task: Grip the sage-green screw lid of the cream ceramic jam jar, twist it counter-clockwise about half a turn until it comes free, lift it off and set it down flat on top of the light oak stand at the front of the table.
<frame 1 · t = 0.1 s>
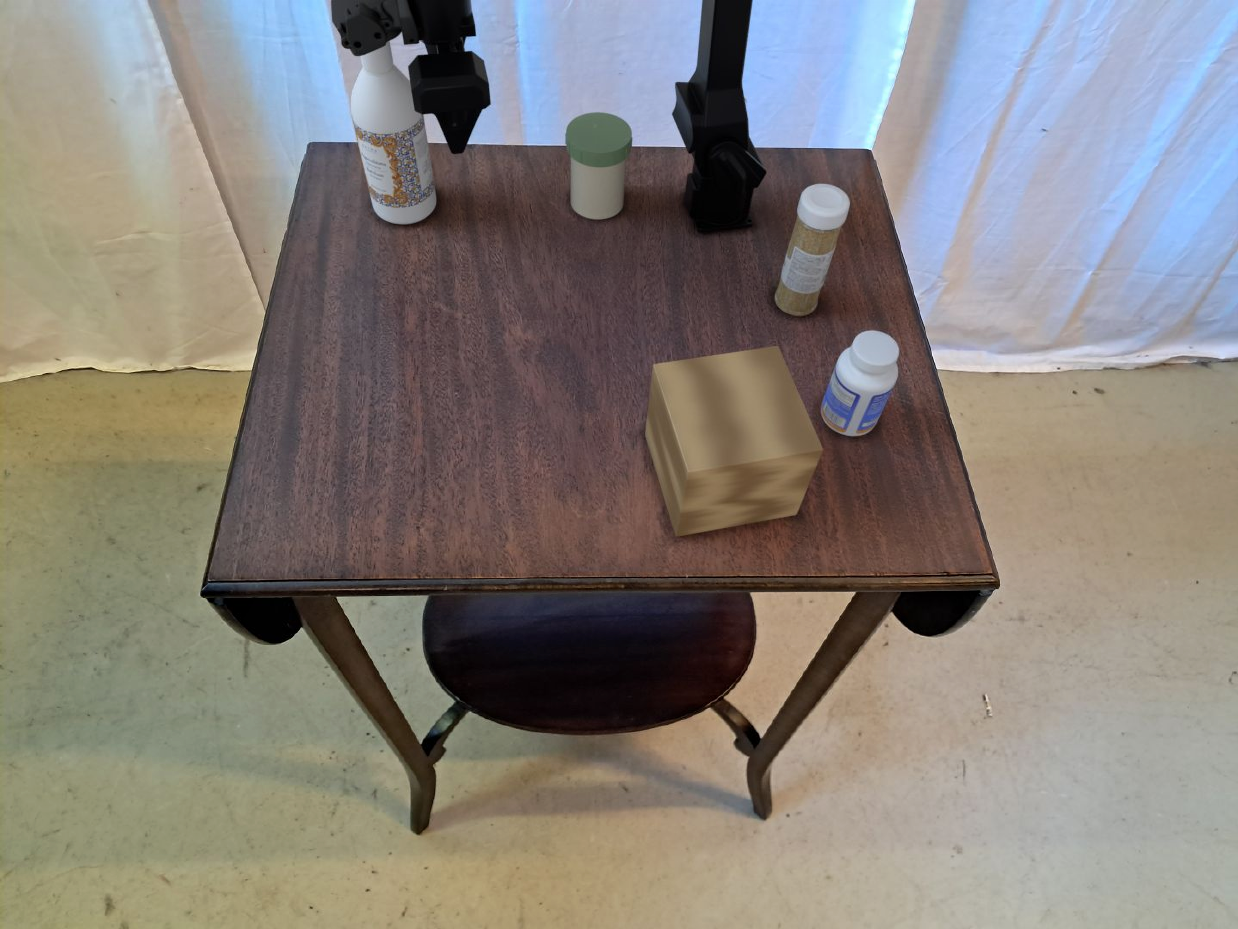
hand: (452, 121, 82), 15 cm above the table, tool pointing down, fingers open, 9 cm apart
oak stand: (718, 473, 79), on the table
bath foam: (405, 206, 97), on the table
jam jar: (597, 201, 99), on the table
pill bottle: (847, 416, 84), on the table
jar lid: (599, 134, 92), point 9 cm above the table, screwed on, not yet turned
sprinkles bottle: (794, 303, 92), on the table
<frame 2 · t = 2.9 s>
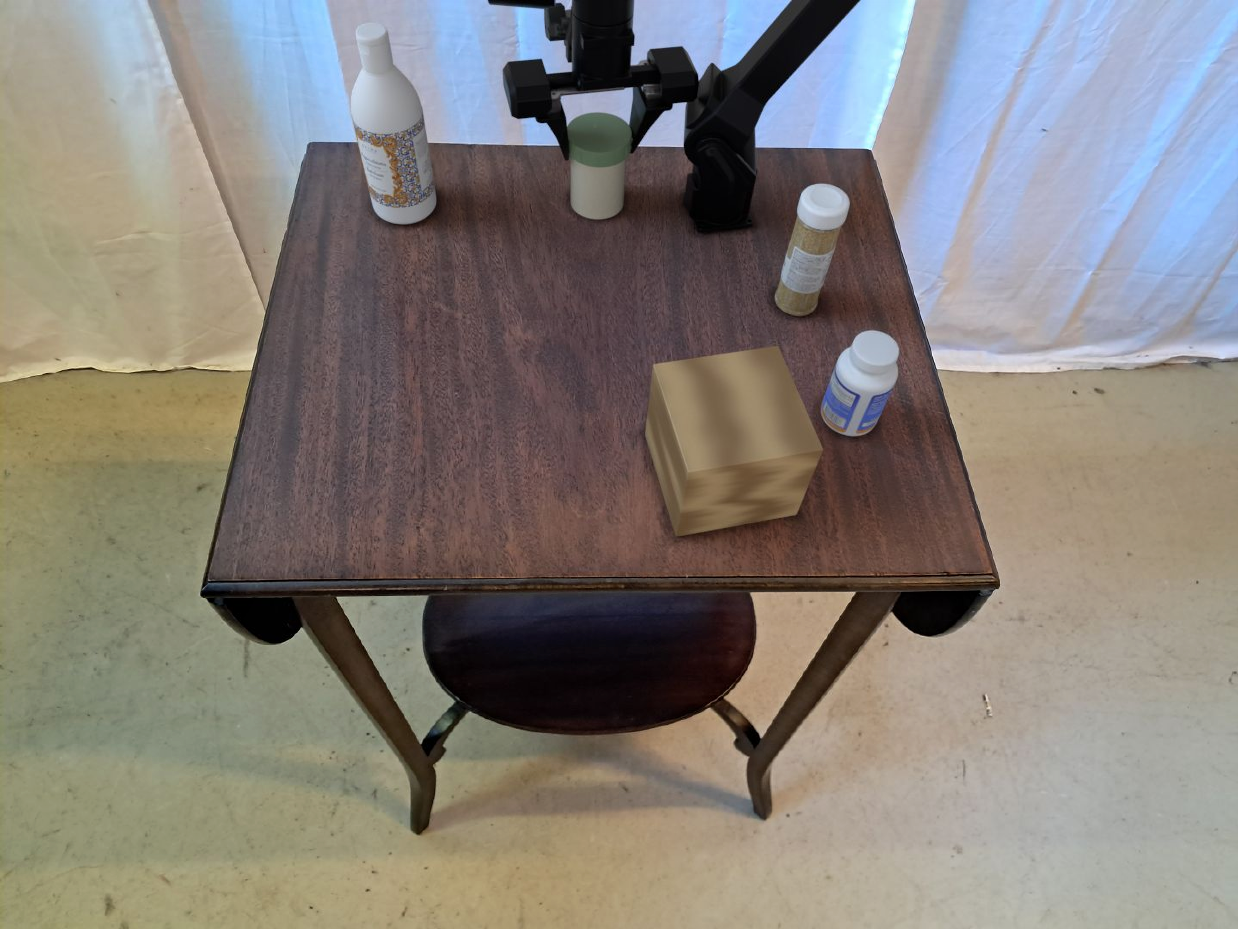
hand: (598, 154, 94), 6 cm above the table, tool pointing down, fingers closed on jar lid, 7 cm apart
jar lid: (598, 134, 92), point 9 cm above the table, screwed on, not yet turned, touching gripper
everything else where it was.
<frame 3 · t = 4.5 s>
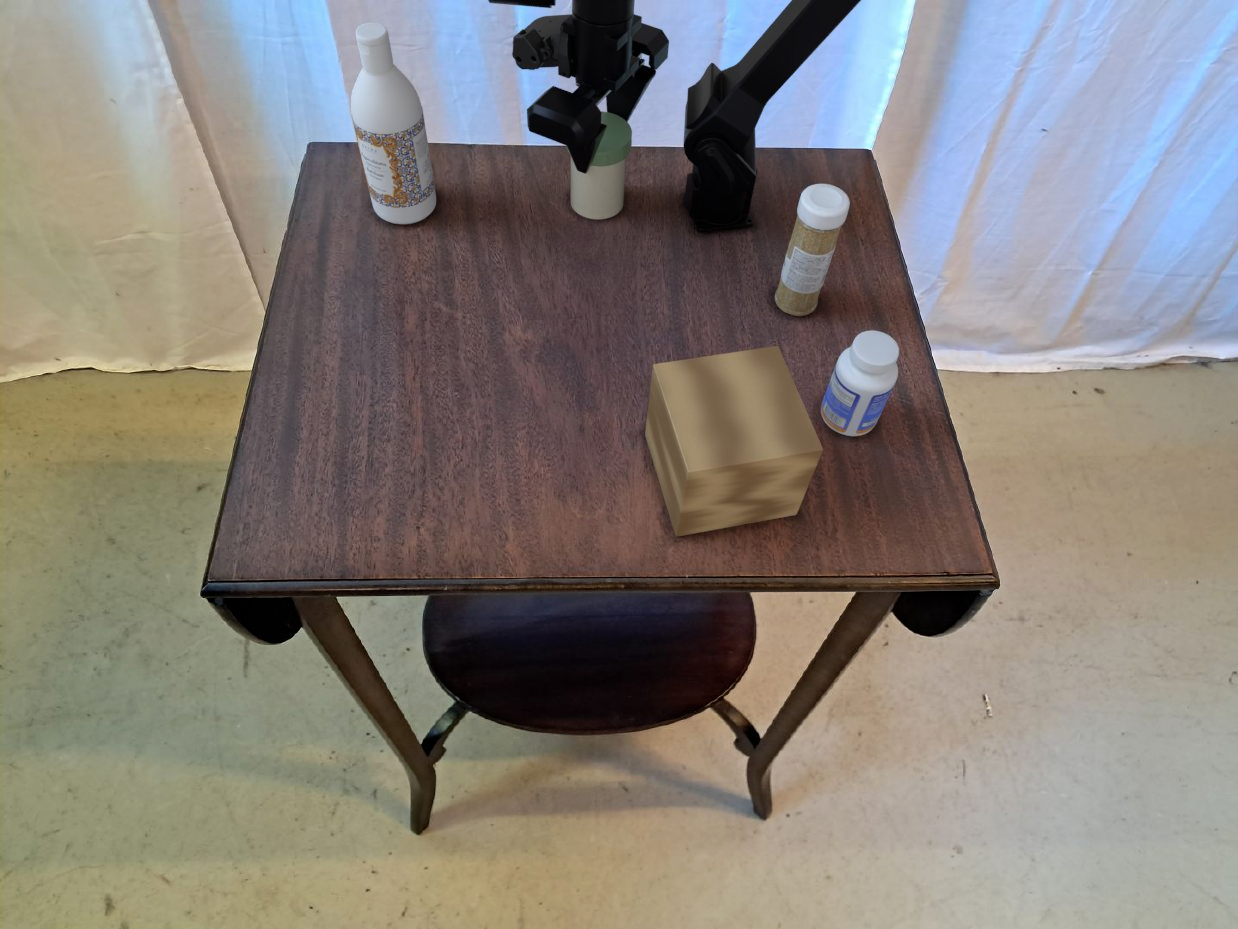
hand: (598, 153, 94), 6 cm above the table, tool pointing down, fingers closed on jar lid, 7 cm apart
jar lid: (599, 133, 92), point 9 cm above the table, turned 49° so far, risen 0.1 cm, still on its thread, touching gripper
everything else where it was.
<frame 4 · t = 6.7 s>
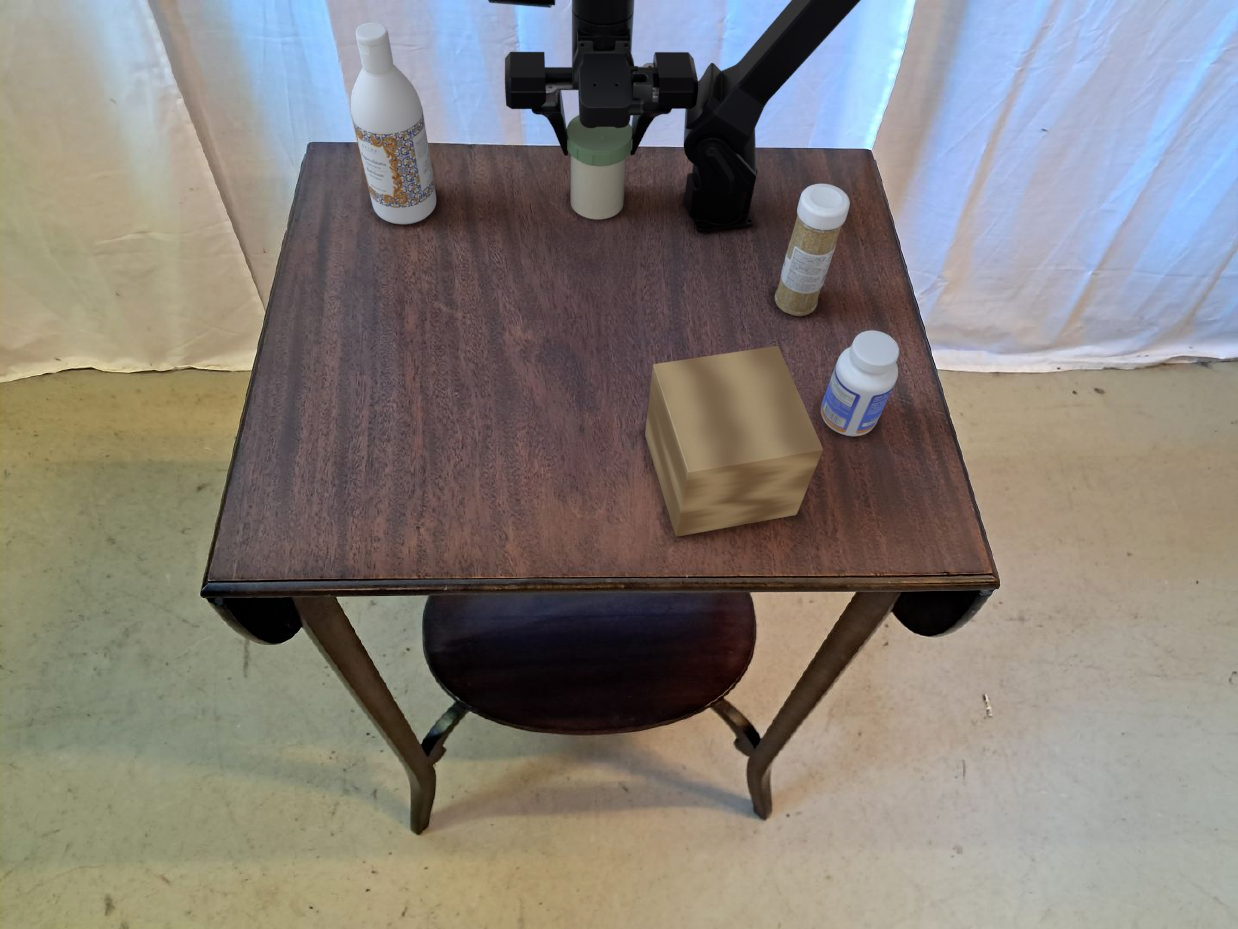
hand: (598, 153, 94), 6 cm above the table, tool pointing down, fingers closed on jar lid, 7 cm apart
jar lid: (599, 133, 92), point 9 cm above the table, off its thread, touching gripper
everything else where it was.
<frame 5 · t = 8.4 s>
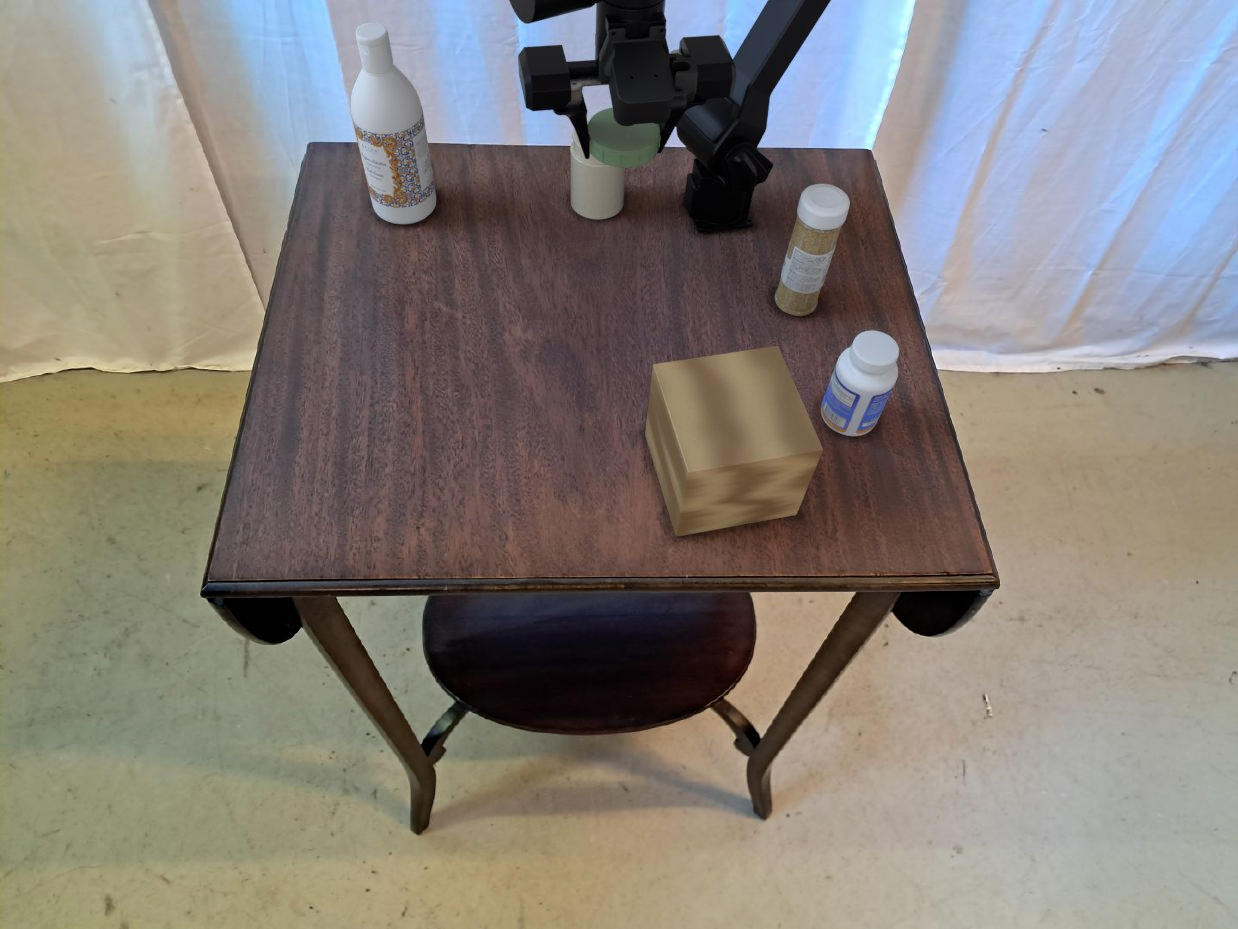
hand: (622, 153, 85), 12 cm above the table, tool pointing down, fingers closed on jar lid, 7 cm apart
jar lid: (623, 131, 83), point 14 cm above the table, off its thread, touching gripper
everything else where it was.
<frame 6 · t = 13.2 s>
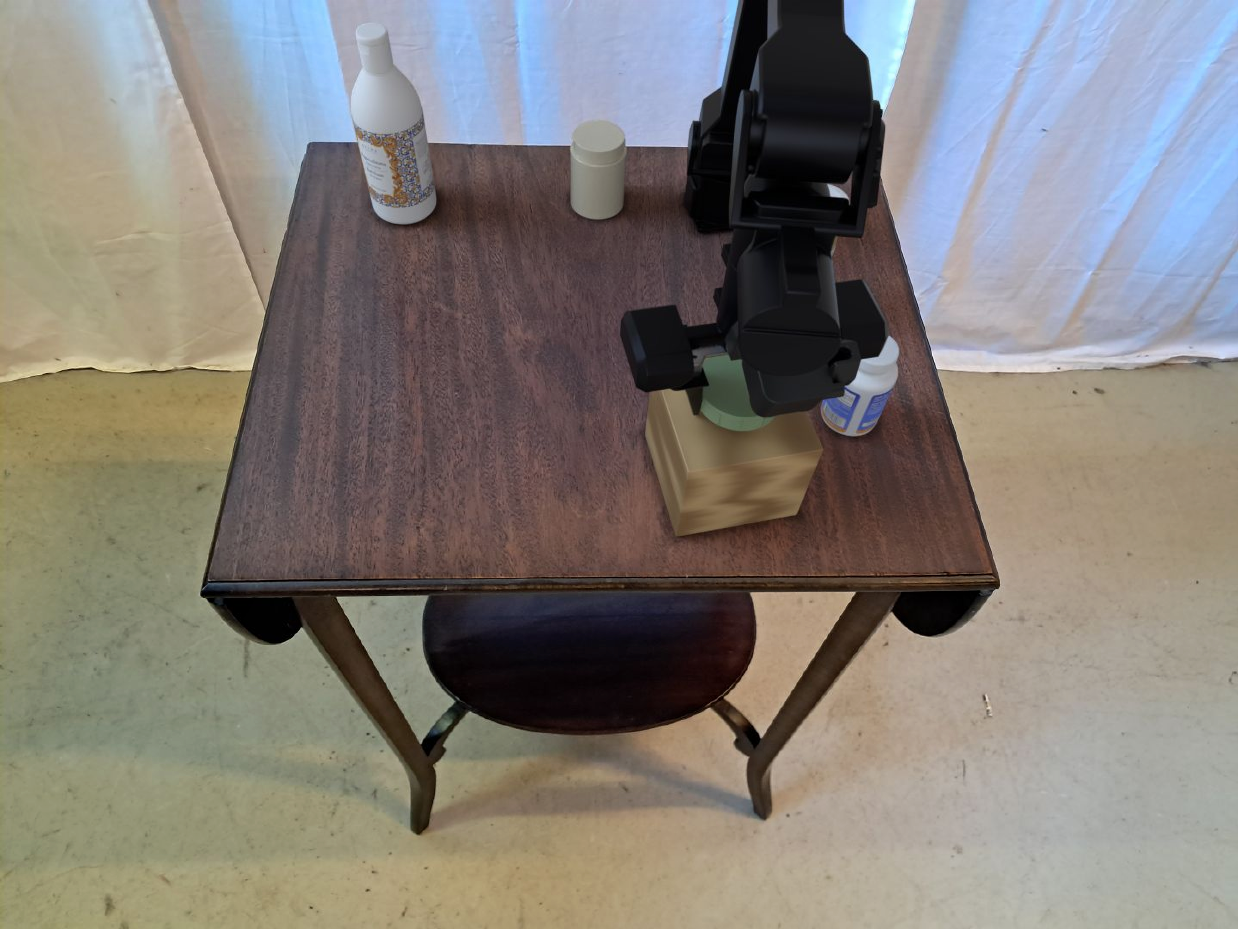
hand: (735, 404, 71), 10 cm above the table, tool pointing down, fingers closed on jar lid, 7 cm apart
jar lid: (741, 384, 69), point 13 cm above the table, off its thread, touching gripper
everything else where it was.
when the fingers open (10 cm above the table, at t = 14.4 s): jar lid drops 1 cm, resting on oak stand.
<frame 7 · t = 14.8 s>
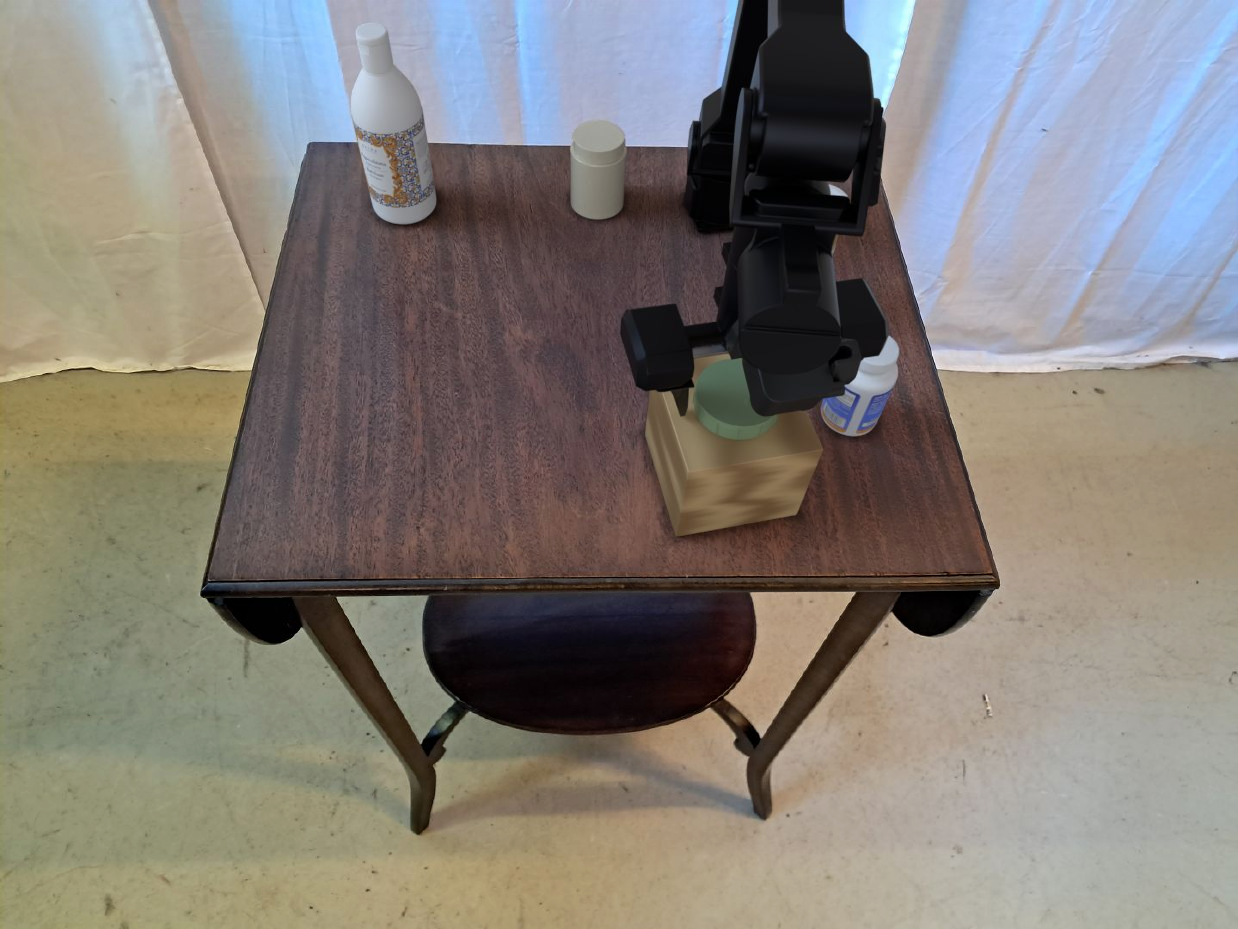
hand: (736, 403, 70), 10 cm above the table, tool pointing down, fingers open, 9 cm apart
jar lid: (738, 393, 69), point 11 cm above the table, off its thread, touching oak stand
everything else where it was.
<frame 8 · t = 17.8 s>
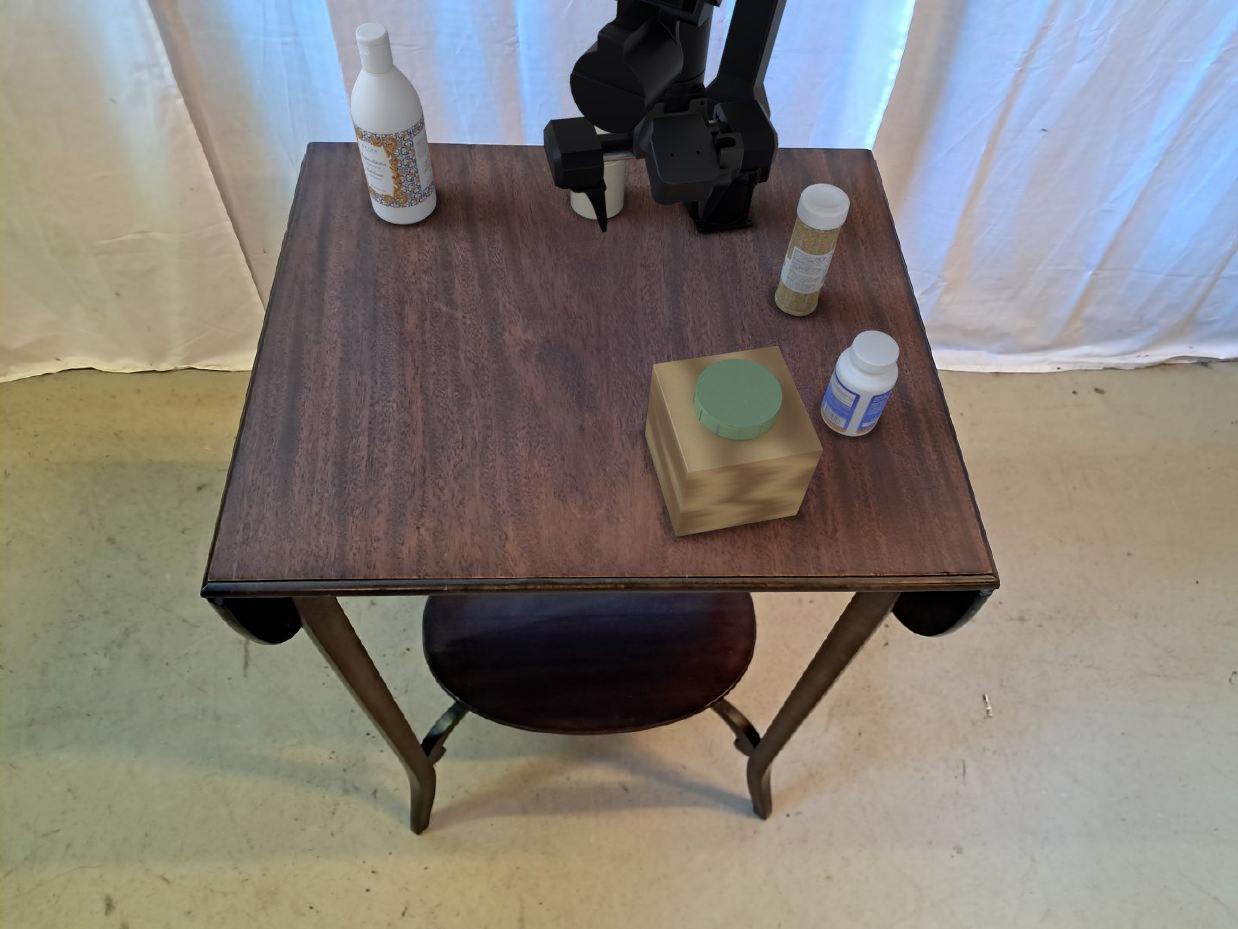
hand: (652, 223, 80), 12 cm above the table, tool pointing down, fingers open, 9 cm apart
nothing on the table moved.
at the end: jar lid 0.0 cm off-centre on the oak stand, point 11.5 cm above the oak stand's base; the gripper is holding nothing; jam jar tilted 0° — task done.
